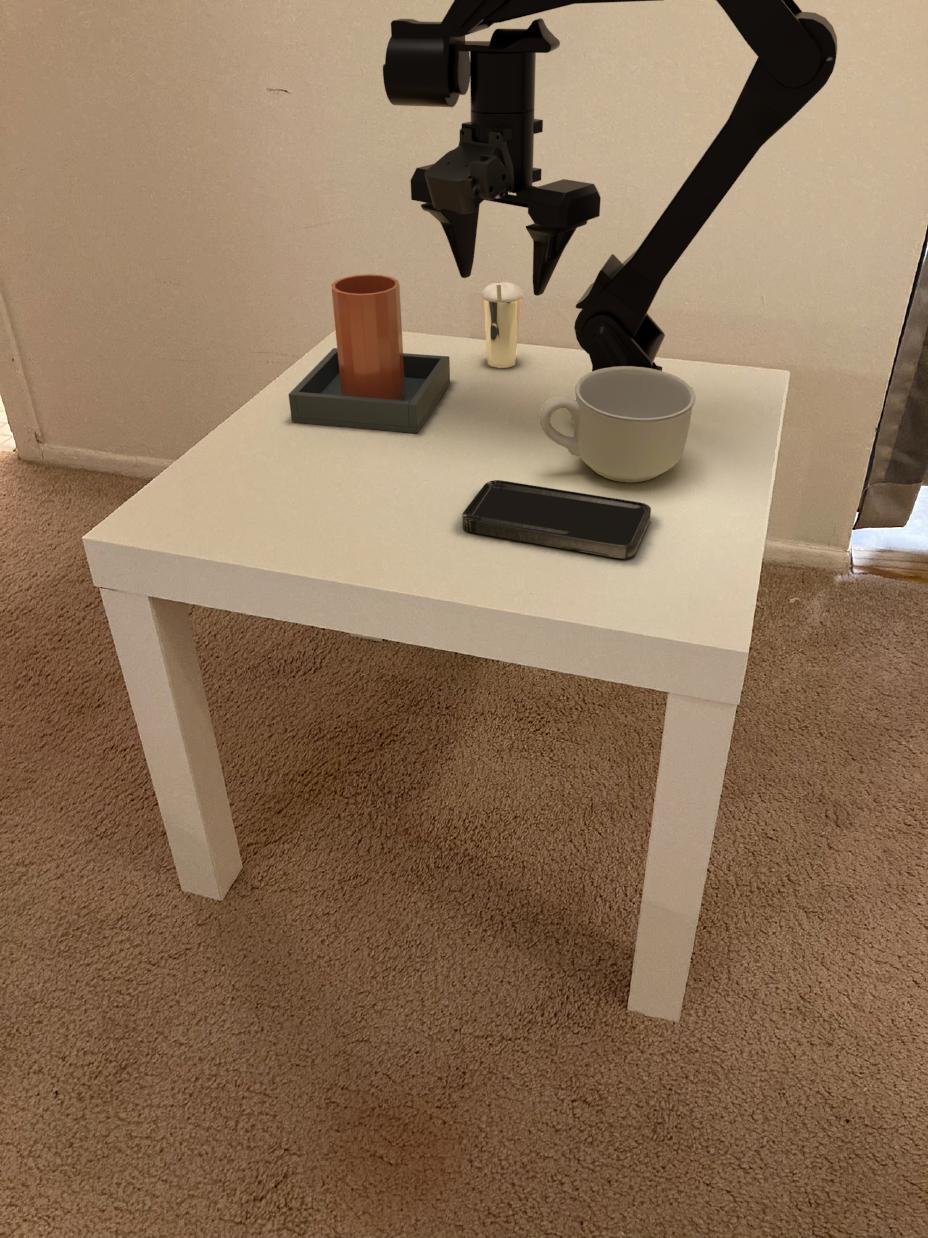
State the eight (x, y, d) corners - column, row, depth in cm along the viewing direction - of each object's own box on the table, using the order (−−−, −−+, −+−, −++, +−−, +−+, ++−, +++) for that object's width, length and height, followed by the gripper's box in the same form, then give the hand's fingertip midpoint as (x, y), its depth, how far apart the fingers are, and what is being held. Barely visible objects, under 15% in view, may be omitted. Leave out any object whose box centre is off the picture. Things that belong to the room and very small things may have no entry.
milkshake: (478, 372, 113) (477, 283, 108) (485, 355, 118) (484, 269, 112) (517, 373, 113) (519, 285, 107) (523, 357, 117) (524, 270, 111)
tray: (450, 382, 111) (449, 356, 109) (417, 433, 100) (415, 404, 98) (335, 373, 114) (333, 347, 112) (291, 422, 103) (288, 394, 101)
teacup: (677, 443, 97) (686, 364, 93) (694, 495, 89) (705, 412, 84) (535, 443, 98) (537, 365, 93) (538, 495, 89) (541, 412, 84)
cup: (408, 406, 104) (402, 292, 97) (343, 411, 103) (332, 296, 97) (401, 382, 110) (395, 272, 103) (340, 386, 109) (330, 276, 102)
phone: (489, 478, 89) (653, 504, 85) (489, 489, 90) (652, 515, 85) (457, 519, 83) (633, 549, 79) (458, 530, 84) (632, 561, 79)
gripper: (364, 111, 88) (376, 287, 97) (530, 132, 78) (526, 327, 87) (447, 95, 95) (450, 262, 104) (609, 114, 85) (597, 296, 94)
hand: (501, 285), depth 97 cm, fingers open, 9 cm apart
